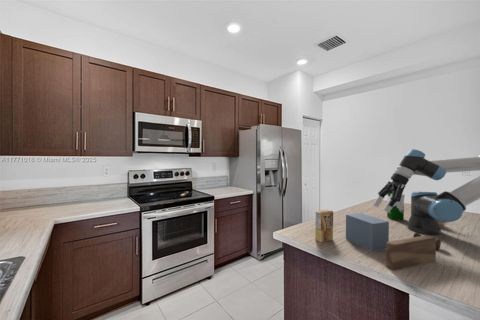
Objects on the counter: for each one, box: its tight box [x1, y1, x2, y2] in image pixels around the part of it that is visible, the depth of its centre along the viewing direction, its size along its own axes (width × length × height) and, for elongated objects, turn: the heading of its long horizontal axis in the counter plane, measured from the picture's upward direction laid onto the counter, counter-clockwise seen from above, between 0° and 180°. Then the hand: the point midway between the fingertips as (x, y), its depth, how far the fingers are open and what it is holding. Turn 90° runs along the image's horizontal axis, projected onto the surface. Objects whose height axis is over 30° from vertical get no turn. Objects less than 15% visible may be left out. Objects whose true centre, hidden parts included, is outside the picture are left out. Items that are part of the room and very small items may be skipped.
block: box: [345, 212, 390, 252], centre depth 106 cm, size 16×10×13 cm, turn 17°
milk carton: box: [386, 191, 406, 221], centre depth 147 cm, size 9×9×20 cm
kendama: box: [412, 231, 442, 251], centre depth 100 cm, size 6×10×20 cm
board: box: [385, 234, 437, 271], centre depth 86 cm, size 3×24×10 cm, turn 107°
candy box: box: [314, 209, 334, 243], centre depth 110 cm, size 9×4×15 cm, turn 116°
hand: (380, 208), depth 117 cm, fingers open, 13 cm apart
